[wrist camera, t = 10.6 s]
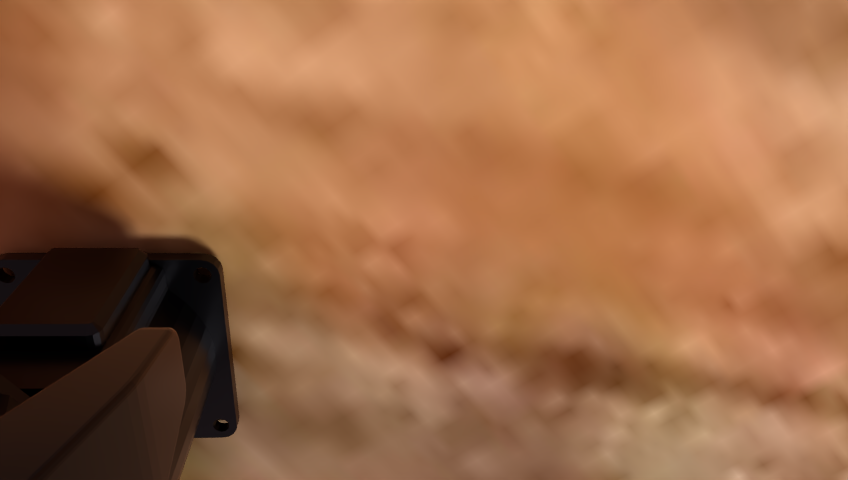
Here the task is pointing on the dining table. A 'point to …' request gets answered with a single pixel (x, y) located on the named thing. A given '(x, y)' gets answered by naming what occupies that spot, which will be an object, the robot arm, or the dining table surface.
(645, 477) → the dining table surface
